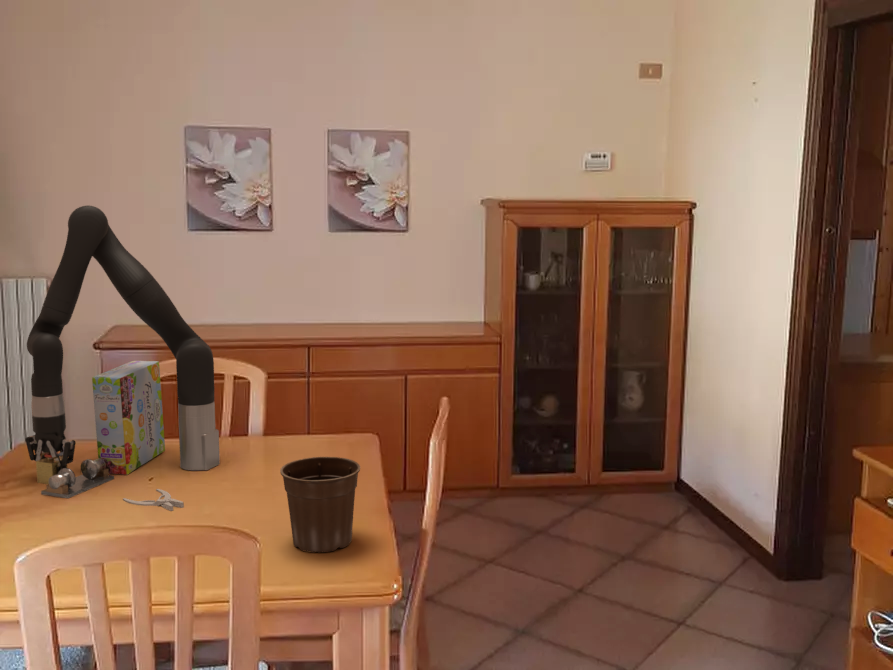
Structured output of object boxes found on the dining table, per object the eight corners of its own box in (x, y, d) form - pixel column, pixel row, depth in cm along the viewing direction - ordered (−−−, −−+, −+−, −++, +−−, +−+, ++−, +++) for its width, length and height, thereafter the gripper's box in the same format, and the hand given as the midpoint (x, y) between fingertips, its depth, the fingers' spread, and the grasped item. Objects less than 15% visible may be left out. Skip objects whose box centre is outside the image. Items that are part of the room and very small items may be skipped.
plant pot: (278, 558, 183) (277, 480, 180) (284, 529, 199) (283, 456, 196) (360, 556, 184) (360, 478, 182) (360, 527, 200) (360, 455, 198)
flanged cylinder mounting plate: (88, 475, 234) (87, 453, 233) (114, 478, 231) (113, 456, 231) (41, 494, 219) (39, 471, 219) (67, 498, 217) (66, 475, 216)
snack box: (136, 450, 257) (132, 359, 252) (166, 452, 255) (162, 360, 251) (95, 473, 235) (90, 375, 231) (127, 475, 234) (122, 376, 230)
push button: (68, 479, 231) (66, 451, 230) (53, 485, 226) (51, 457, 225) (52, 476, 233) (50, 449, 232) (37, 482, 228) (35, 455, 227)
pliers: (158, 485, 223) (195, 498, 214) (158, 491, 223) (195, 505, 214) (121, 495, 216) (158, 509, 206) (121, 501, 216) (158, 516, 207)
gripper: (82, 411, 228) (86, 477, 230) (37, 406, 233) (41, 471, 235) (60, 418, 221) (64, 486, 223) (13, 412, 226) (18, 479, 228)
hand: (52, 478), depth 229 cm, fingers closed on push button, 5 cm apart
